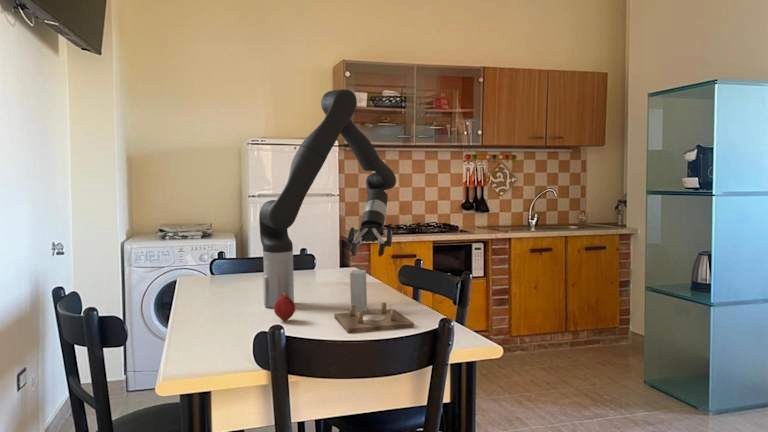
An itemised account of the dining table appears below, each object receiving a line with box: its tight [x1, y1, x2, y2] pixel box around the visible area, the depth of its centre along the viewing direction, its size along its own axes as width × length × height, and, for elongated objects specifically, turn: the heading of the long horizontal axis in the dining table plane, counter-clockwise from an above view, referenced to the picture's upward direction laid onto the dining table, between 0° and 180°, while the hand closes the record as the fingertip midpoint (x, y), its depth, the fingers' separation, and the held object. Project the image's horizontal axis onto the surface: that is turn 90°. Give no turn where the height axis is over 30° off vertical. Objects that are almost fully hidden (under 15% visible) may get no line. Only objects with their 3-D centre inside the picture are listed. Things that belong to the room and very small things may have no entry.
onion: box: [273, 293, 296, 322], centre depth 175 cm, size 6×6×8 cm
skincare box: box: [349, 269, 368, 312], centre depth 187 cm, size 6×4×12 cm
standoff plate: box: [333, 302, 415, 334], centre depth 172 cm, size 18×18×4 cm
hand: (366, 255), depth 197 cm, fingers open, 8 cm apart
